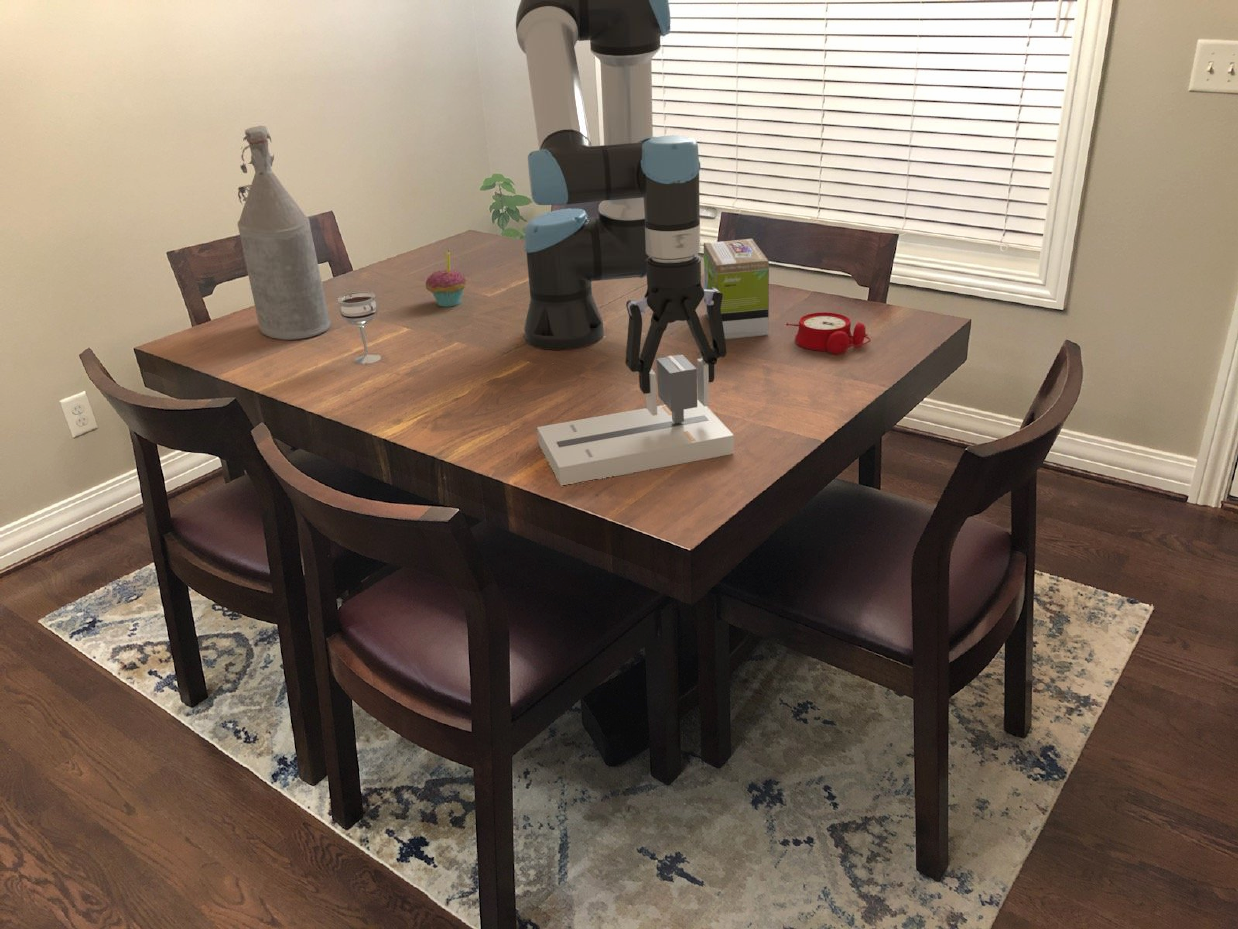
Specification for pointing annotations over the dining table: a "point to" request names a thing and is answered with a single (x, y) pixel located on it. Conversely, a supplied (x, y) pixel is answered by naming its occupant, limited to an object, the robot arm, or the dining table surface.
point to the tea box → (739, 286)
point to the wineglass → (360, 317)
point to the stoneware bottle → (279, 252)
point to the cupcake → (446, 285)
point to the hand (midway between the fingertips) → (677, 406)
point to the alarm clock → (828, 332)
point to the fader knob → (677, 385)
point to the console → (632, 442)
